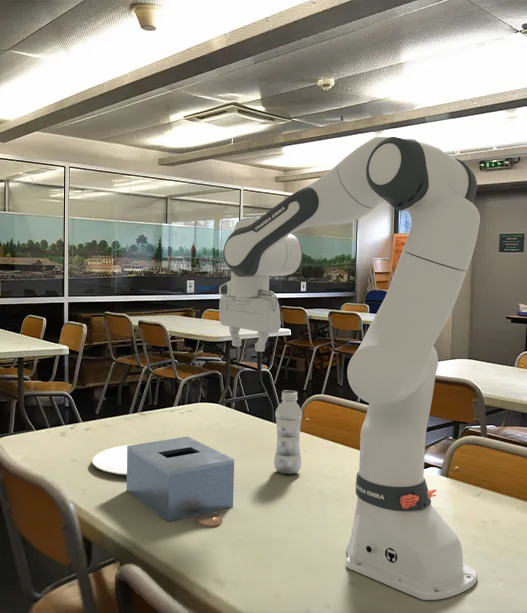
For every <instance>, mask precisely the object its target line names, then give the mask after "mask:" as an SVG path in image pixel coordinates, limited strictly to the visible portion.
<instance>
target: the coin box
mask: <svg viewBox="0 0 527 613" xmlns="http://www.w3.org/2000/svg"><path fill="white" fill-rule="evenodd" d="M135 444H136V445H132V444H128V445H129V446H127V476H126V491H127V492H128V493H130V494H131V495H132V496H134V497H135V498H136V499H137V500H139V501H140V502H142V503H143V504H144V505H145V506H147V507H148V508H149V509H151V510H152V511H153V512H154V513H156V514H157V515H158V516H160V517H161V518H162V519H164V520H165V521H166V522H167V523H170V522H173V521H179V520H181V519H187V518H190V517H194V516H195V517H196V516H198V515H199V514H201V513H204V512H217V511H220V510H224V509H229V508H232V507H234V489H235V488H234V483H235V482H234V481H235V480H234V479H235V459H234V458H233V457H230V456H228V455H227V454H224V453H222V452H220V451H218V450H216V449H214V448H212V447H209V446H208V445H206V444H204V443H201V442H200V441H198V440H196V439H193V438H192V437H189V436H182V437H175V438H170V439H169V438H168V439H162V440H157V441H156V440H155V441H149V442H144V443H143V442H142V443H138V444H137V443H135Z"/></svg>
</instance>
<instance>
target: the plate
mask: <svg viewBox="0 0 527 613" xmlns="http://www.w3.org/2000/svg"><path fill="white" fill-rule="evenodd" d="M136 444H137V443H134V444H131V445H136ZM129 445H130V444H125V445H119V446H115V447H110V448H107V449H105V450H102V451H100V452H98V453H97V454H95V455H94V456H93V458H92V459H91V462H92V466H94V467H95V468H96V469H97V470H100V471H102V472H105V473H108V474H113V475H117V476H125V477H127V446H129Z"/></svg>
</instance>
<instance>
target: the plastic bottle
mask: <svg viewBox="0 0 527 613" xmlns="http://www.w3.org/2000/svg"><path fill="white" fill-rule="evenodd" d="M280 400H282V401H281V403H279V405H277V406H278V407H276V409H275V415H274V416H275V422H276V425H275V426H276V448H275V453H274V454H275V455H274V459H273V463H274V464H273V465H274V469H275V471H276V472H277V473H280V474H285V475H286V474H287V475H292V474H293V475H294V474H297V473H299V471H300V470H301V468H302V457H301V453H300V452H301V450H300V449H301V447H300V434H301V424H302V420H303V419H302V418H303V411H302V409H301V407H300V405H299V403H297V401H298V400H299V399H298V391H296V390H282V392H281V398H280Z"/></svg>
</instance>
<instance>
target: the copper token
mask: <svg viewBox="0 0 527 613" xmlns="http://www.w3.org/2000/svg"><path fill="white" fill-rule="evenodd" d="M196 517H197V518H196V523H197V525H200V526H201V527H205V526H206V527H207V528H211V527H217V526H220V525H222V524H223V522H224V520H223V519H224V517H223V515H222V514H221V513H219V512H217V511H212V512H204V513H201V514H199V515H196Z"/></svg>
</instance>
